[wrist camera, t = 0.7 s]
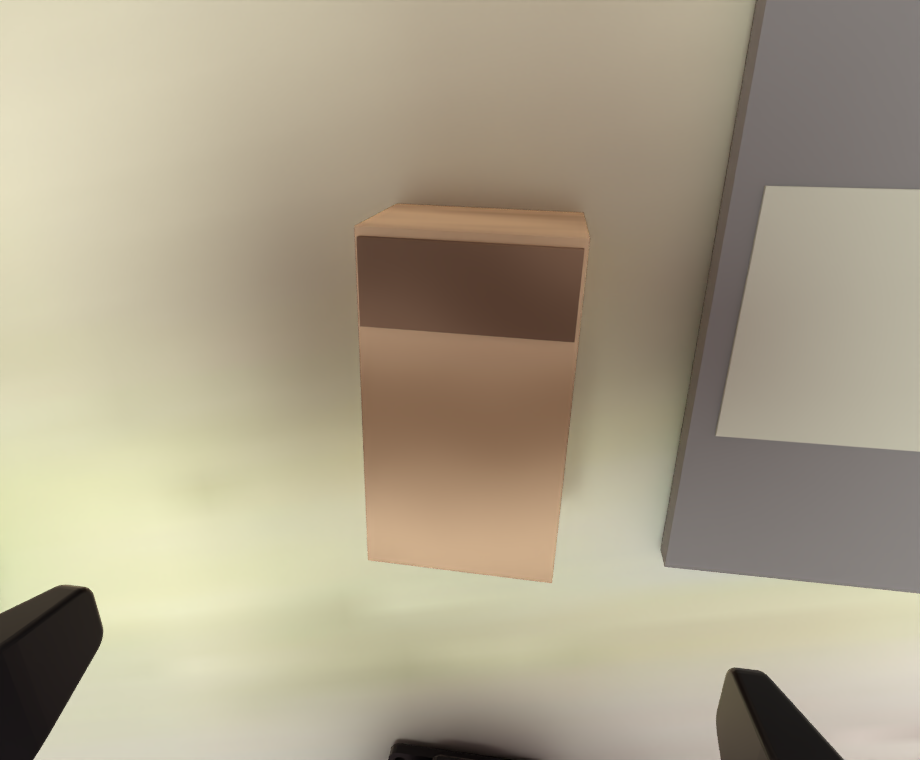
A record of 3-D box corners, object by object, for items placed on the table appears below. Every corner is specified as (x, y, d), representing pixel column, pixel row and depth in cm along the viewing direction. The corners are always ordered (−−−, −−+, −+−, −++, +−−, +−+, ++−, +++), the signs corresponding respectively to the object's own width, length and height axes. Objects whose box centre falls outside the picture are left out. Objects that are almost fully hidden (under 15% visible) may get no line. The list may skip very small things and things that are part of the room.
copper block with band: (553, 497, 20) (551, 588, 16) (402, 481, 20) (365, 564, 17) (583, 211, 16) (590, 240, 12) (398, 202, 17) (351, 227, 13)
